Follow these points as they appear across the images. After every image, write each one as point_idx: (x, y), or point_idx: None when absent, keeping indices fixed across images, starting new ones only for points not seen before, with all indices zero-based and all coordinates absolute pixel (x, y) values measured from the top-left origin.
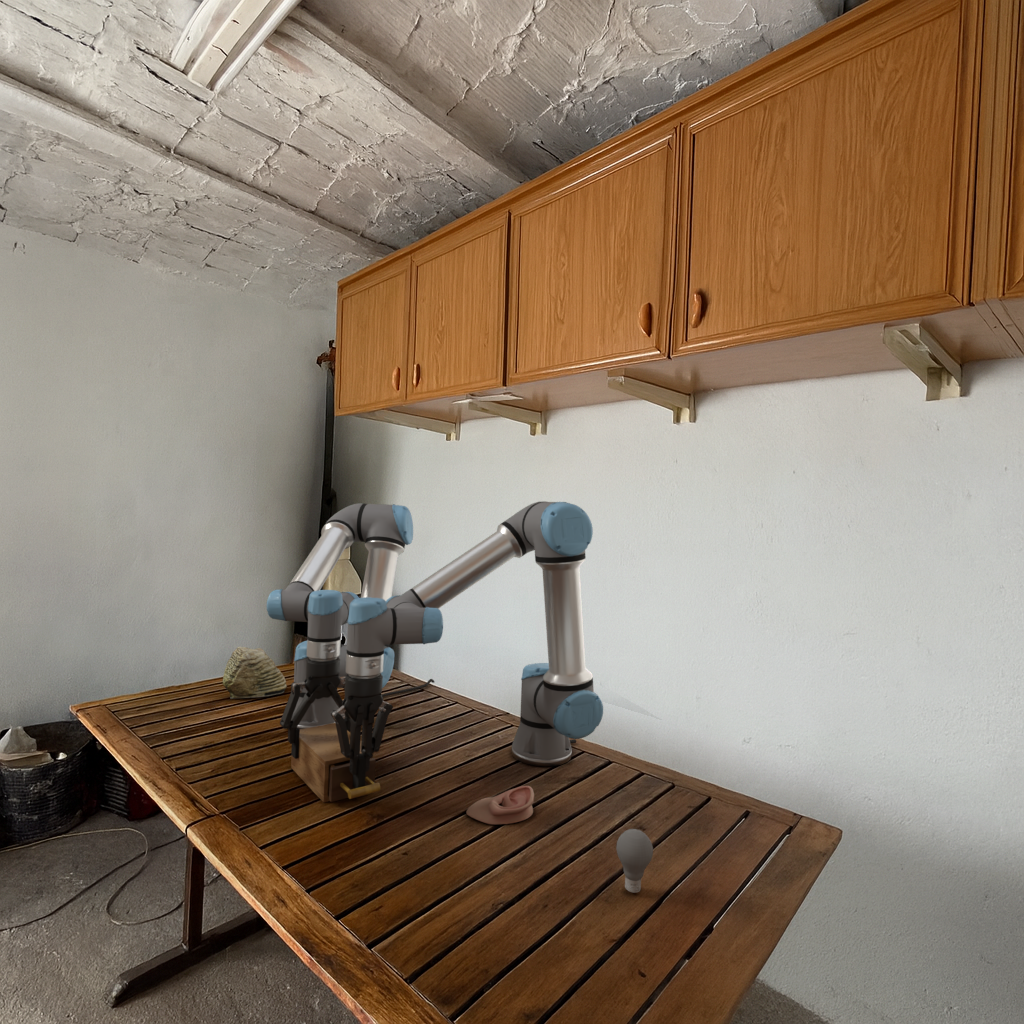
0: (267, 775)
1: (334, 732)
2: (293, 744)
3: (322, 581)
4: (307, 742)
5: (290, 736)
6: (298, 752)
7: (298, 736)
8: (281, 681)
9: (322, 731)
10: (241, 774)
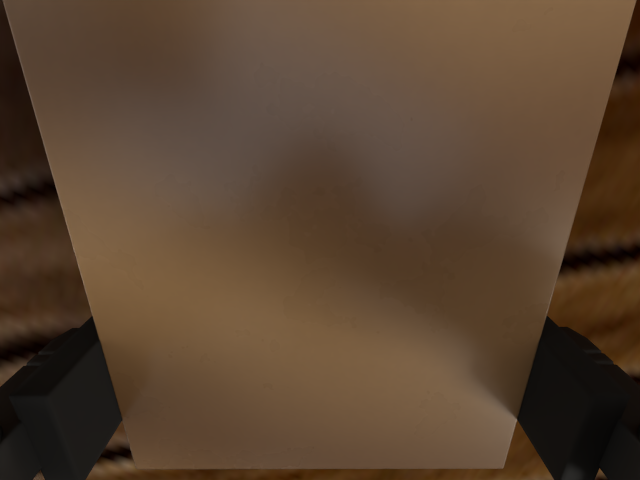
0: None
1: (218, 297)
2: None
3: None
4: (562, 184)
5: (618, 368)
6: None
7: (555, 345)
8: None
9: (310, 363)
10: (603, 344)
